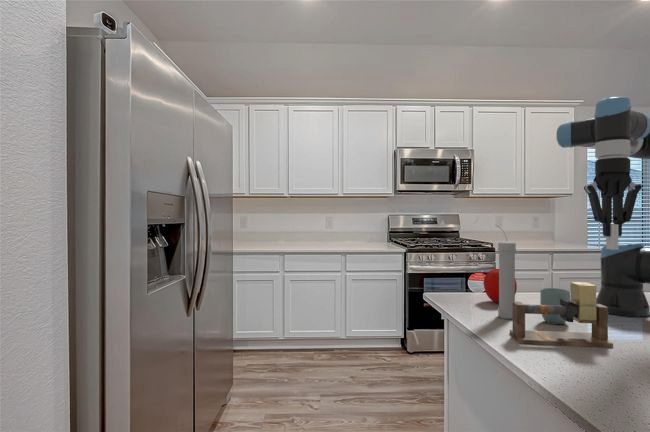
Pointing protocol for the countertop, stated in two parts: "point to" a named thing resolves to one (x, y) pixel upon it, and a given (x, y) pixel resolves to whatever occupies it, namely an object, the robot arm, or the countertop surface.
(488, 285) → the tomato
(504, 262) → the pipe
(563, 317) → the dark grey square ring
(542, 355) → the countertop surface
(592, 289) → the sleeve
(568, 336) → the rail
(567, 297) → the cup
